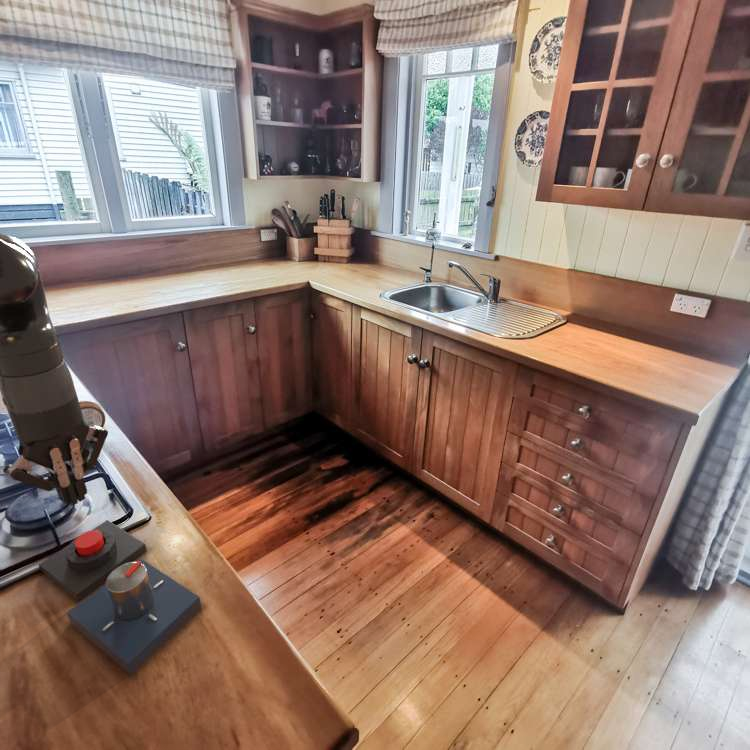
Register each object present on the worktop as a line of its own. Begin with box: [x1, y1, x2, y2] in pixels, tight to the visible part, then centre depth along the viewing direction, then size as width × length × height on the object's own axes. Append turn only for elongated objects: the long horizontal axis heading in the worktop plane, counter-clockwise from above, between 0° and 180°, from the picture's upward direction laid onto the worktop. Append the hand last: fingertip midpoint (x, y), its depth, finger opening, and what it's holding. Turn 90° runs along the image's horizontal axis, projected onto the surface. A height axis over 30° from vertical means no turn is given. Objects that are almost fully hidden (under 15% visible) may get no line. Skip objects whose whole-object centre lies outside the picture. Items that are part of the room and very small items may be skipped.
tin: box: [79, 400, 106, 429], centre depth 100 cm, size 15×3×8 cm, turn 135°
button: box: [75, 529, 104, 556], centre depth 71 cm, size 4×4×2 cm
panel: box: [66, 557, 202, 676], centre depth 64 cm, size 13×11×3 cm
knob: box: [105, 560, 154, 620], centre depth 62 cm, size 5×5×6 cm
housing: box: [38, 520, 148, 603], centre depth 72 cm, size 10×11×4 cm
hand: (75, 500), depth 67 cm, fingers closed
